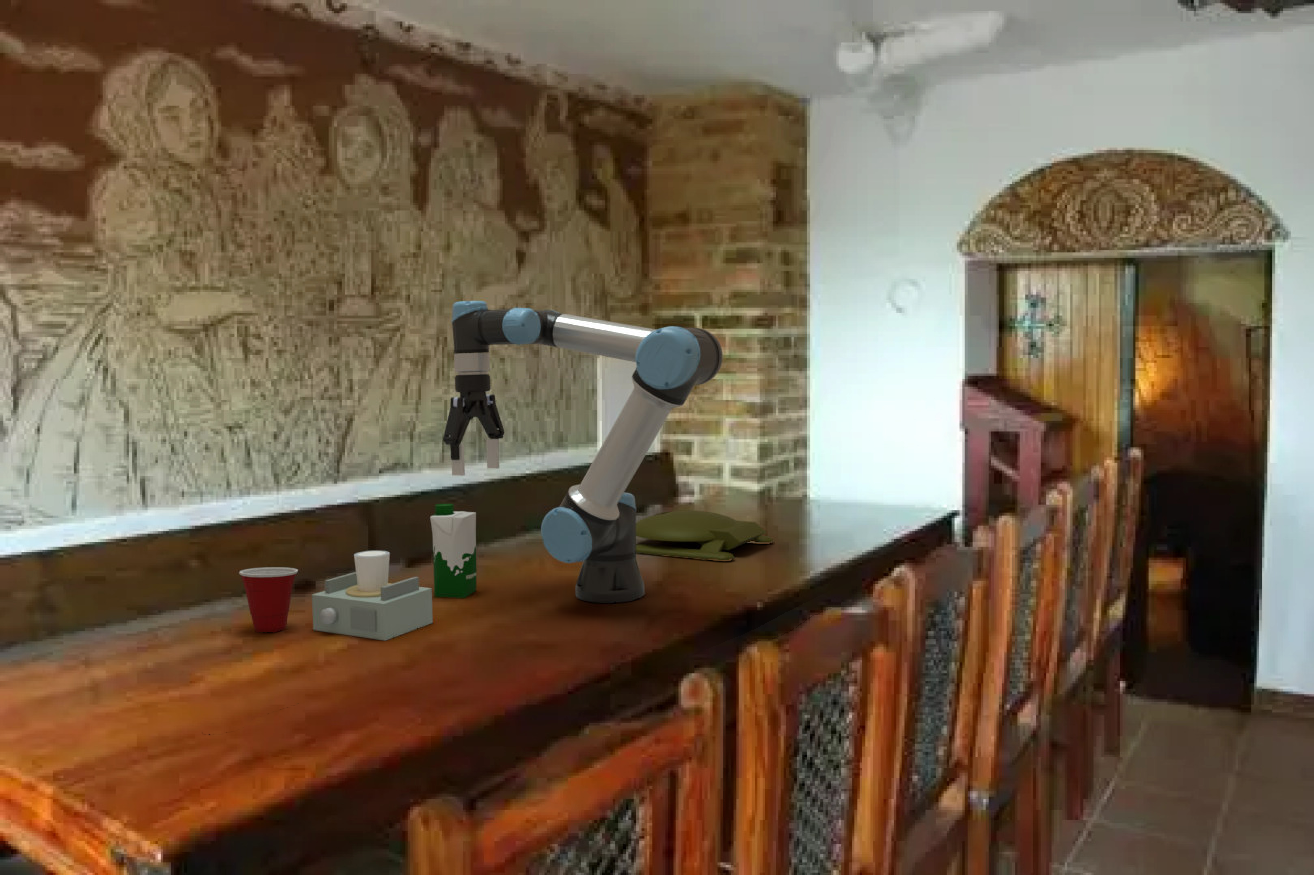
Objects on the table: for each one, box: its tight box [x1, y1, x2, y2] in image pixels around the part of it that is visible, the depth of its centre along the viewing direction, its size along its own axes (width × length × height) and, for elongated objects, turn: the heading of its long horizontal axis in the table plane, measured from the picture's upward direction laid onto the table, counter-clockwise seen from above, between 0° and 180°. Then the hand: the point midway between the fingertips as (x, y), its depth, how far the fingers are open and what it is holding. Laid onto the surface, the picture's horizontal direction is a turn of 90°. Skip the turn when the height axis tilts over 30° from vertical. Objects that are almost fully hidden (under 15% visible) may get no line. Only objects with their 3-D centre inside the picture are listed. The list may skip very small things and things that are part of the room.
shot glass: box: [353, 549, 391, 592], centre depth 209 cm, size 7×7×7 cm
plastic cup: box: [238, 566, 299, 633], centre depth 208 cm, size 11×11×12 cm
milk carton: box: [429, 502, 478, 599], centre depth 236 cm, size 9×9×20 cm
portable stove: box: [311, 571, 433, 641], centre depth 209 cm, size 18×16×10 cm
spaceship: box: [636, 509, 774, 560], centre depth 288 cm, size 35×31×10 cm
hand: (476, 471), depth 230 cm, fingers open, 13 cm apart
